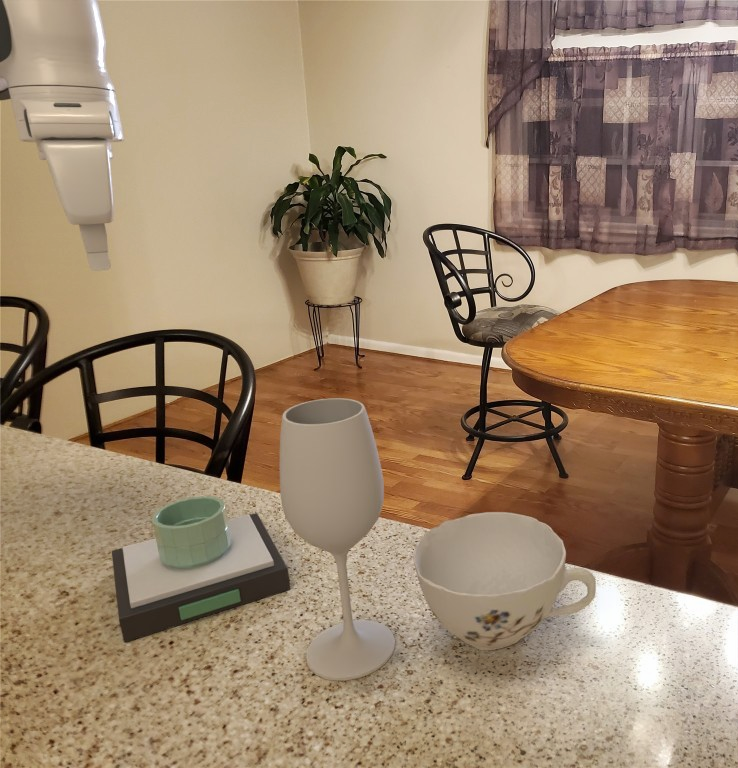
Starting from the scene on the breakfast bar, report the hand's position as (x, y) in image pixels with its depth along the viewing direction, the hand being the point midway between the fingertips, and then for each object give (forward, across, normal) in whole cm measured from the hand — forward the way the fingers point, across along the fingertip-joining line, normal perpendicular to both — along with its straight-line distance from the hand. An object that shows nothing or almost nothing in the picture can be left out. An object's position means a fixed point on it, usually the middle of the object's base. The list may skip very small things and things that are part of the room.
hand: (99, 264), depth 71 cm
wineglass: (+29, +36, +12) cm, 48 cm away
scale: (+29, +18, +3) cm, 34 cm away
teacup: (+29, +41, +24) cm, 56 cm away
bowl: (+26, +18, +3) cm, 32 cm away
